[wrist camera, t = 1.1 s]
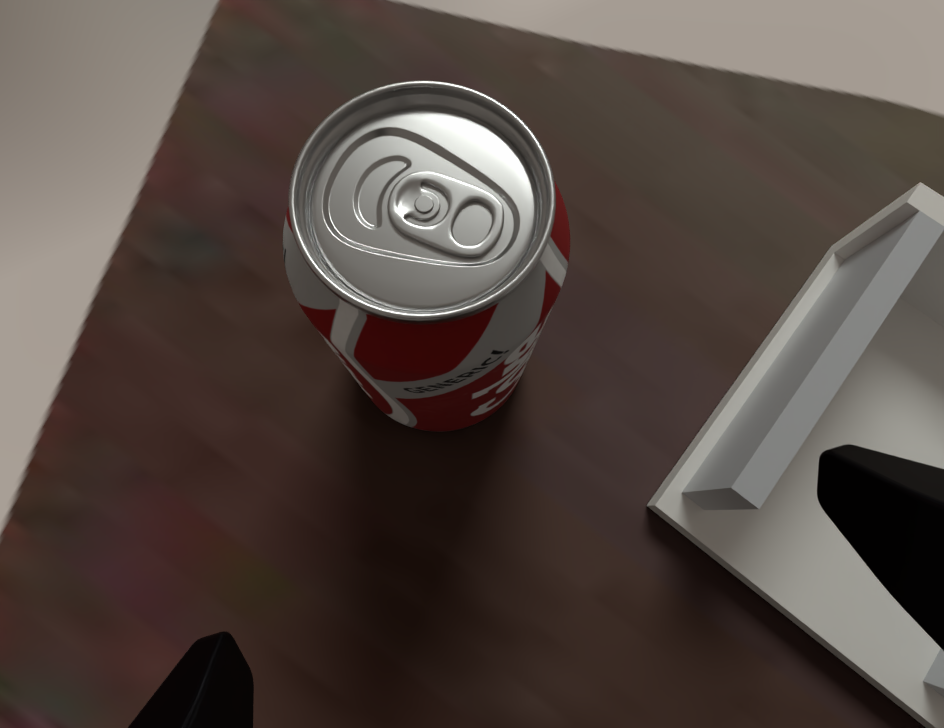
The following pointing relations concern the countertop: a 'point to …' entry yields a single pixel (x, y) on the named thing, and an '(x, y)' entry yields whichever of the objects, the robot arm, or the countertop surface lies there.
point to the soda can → (427, 248)
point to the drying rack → (831, 445)
